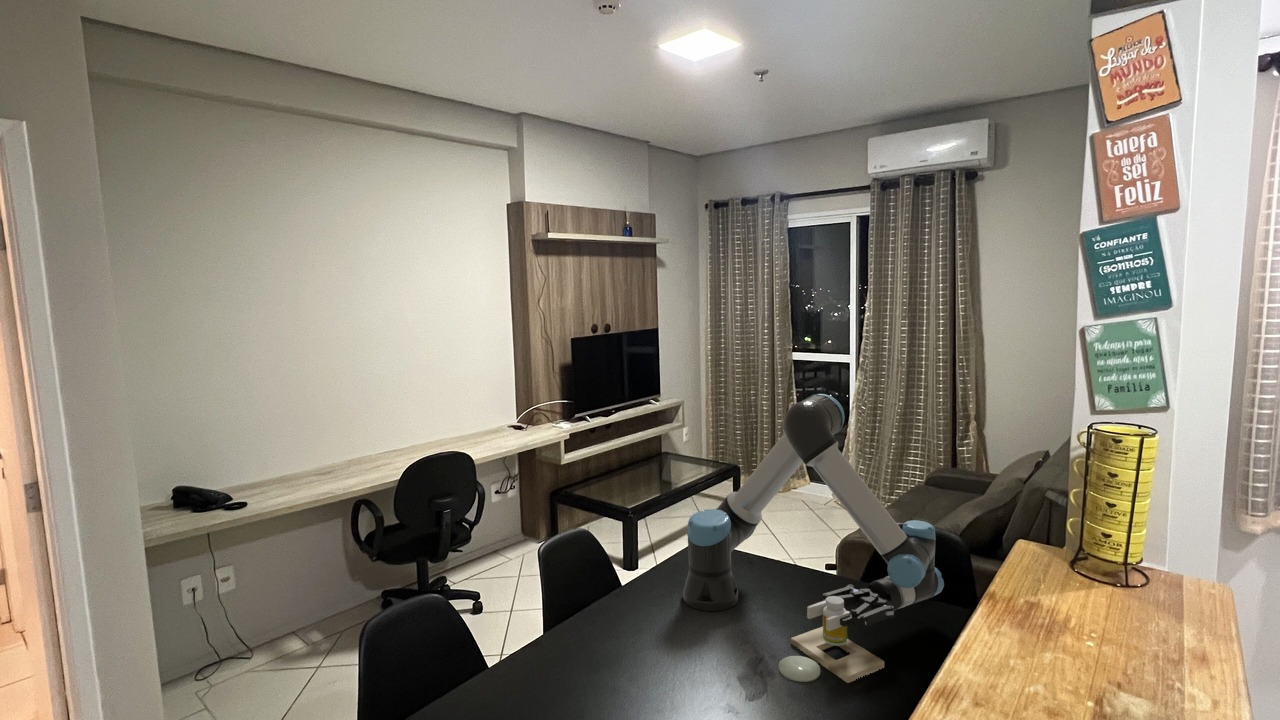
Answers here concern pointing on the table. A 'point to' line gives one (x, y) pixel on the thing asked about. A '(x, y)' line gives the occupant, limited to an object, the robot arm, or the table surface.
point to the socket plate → (845, 667)
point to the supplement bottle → (832, 608)
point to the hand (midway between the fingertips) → (817, 618)
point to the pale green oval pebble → (799, 668)
